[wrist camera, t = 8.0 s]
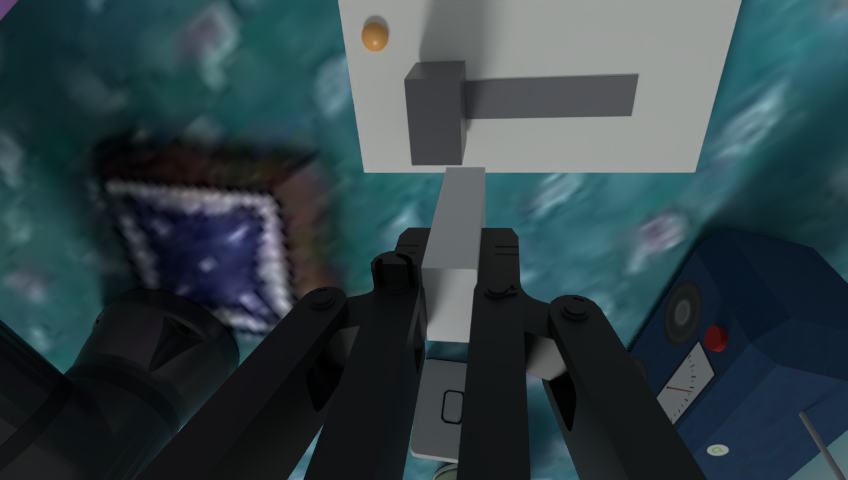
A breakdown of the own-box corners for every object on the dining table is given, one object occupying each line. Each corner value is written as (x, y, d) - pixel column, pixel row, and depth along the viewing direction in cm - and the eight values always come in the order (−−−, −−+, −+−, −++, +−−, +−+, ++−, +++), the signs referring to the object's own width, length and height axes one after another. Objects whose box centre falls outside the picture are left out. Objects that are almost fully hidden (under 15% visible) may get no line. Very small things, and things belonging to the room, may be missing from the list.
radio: (698, 213, 34) (873, 470, 18) (815, 240, 34) (1101, 524, 18) (592, 388, 46) (639, 640, 30) (678, 409, 46) (774, 674, 30)
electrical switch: (516, 366, 46) (516, 458, 39) (510, 395, 49) (509, 485, 42) (423, 355, 47) (407, 442, 40) (424, 384, 51) (409, 469, 44)
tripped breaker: (421, 140, 31) (411, 165, 28) (416, 62, 28) (403, 79, 25) (466, 140, 30) (461, 165, 27) (465, 60, 28) (459, 77, 24)
